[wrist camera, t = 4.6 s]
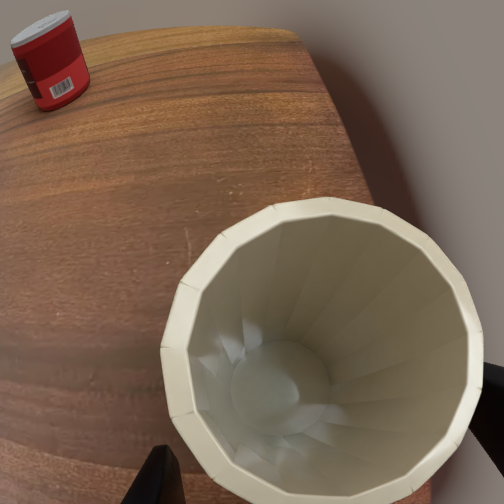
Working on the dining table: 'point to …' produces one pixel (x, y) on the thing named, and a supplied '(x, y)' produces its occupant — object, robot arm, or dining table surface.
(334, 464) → the cup
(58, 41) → the canned food
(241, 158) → the dining table surface
